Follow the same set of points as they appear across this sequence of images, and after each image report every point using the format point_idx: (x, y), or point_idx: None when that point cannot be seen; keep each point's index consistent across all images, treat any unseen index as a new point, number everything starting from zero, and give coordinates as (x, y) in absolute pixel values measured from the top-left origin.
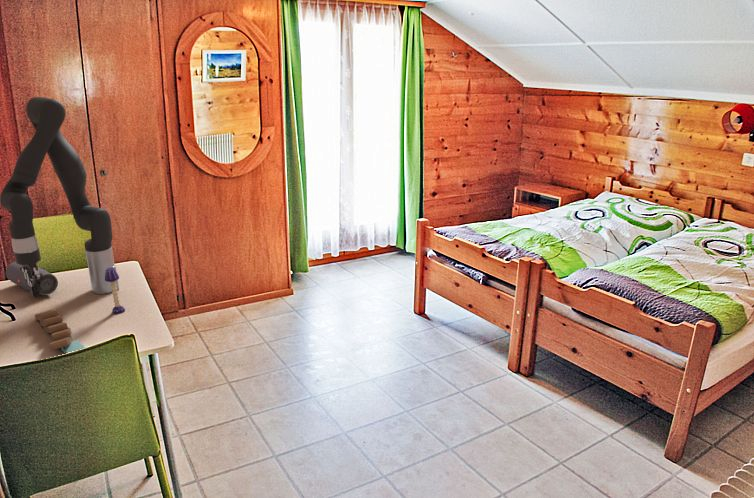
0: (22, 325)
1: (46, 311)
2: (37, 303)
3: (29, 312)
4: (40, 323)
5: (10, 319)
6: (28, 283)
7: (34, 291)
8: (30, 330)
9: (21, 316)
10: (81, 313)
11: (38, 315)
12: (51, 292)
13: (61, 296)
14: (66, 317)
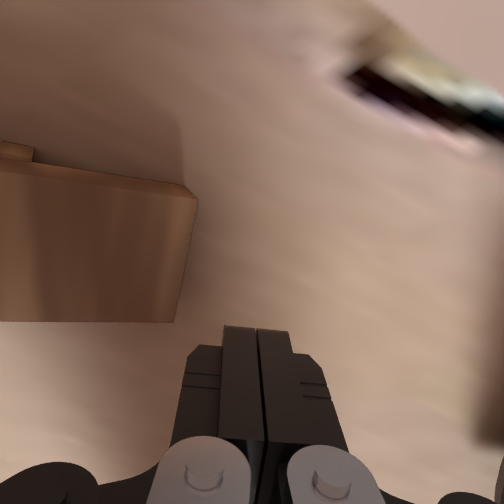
0: (182, 57)
1: (161, 292)
2: (475, 351)
3: (381, 235)
4: (14, 148)
5: (401, 63)
6: (333, 490)
7: (184, 386)
8: (12, 40)
9: (370, 156)
10: (25, 429)
11: (12, 170)
12: (499, 486)
13: (419, 488)
14: (41, 342)
